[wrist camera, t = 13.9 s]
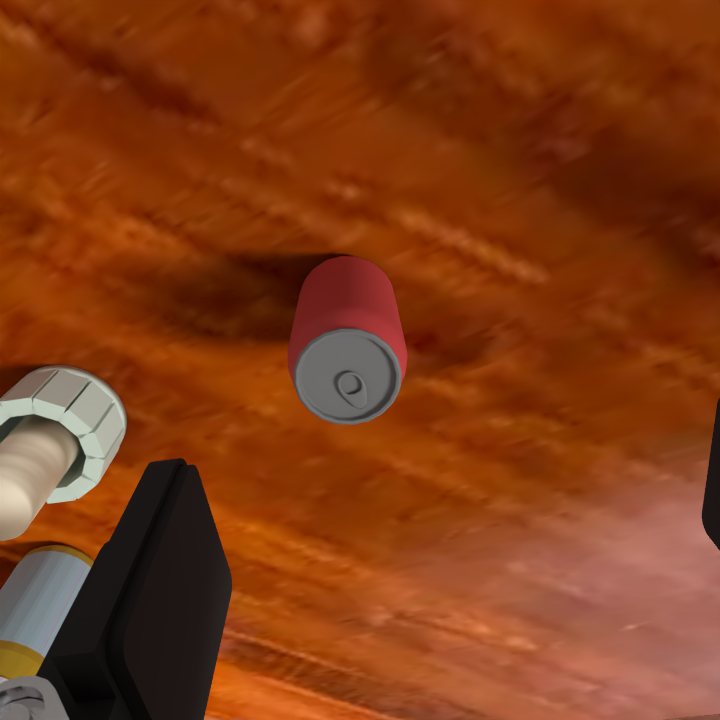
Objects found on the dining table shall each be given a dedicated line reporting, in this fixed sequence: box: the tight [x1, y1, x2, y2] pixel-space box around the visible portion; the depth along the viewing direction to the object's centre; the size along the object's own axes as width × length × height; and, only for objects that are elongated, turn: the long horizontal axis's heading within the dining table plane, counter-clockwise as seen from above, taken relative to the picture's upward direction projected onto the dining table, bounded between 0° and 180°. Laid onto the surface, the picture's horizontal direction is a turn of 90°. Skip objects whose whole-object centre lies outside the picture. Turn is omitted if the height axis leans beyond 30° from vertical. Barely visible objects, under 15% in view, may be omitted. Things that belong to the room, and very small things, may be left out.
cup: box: [0, 365, 127, 504], centre depth 42 cm, size 8×8×5 cm
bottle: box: [0, 545, 94, 683], centre depth 45 cm, size 7×7×15 cm
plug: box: [0, 414, 83, 541], centre depth 39 cm, size 4×4×10 cm
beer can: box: [288, 256, 408, 425], centre depth 36 cm, size 7×7×12 cm
